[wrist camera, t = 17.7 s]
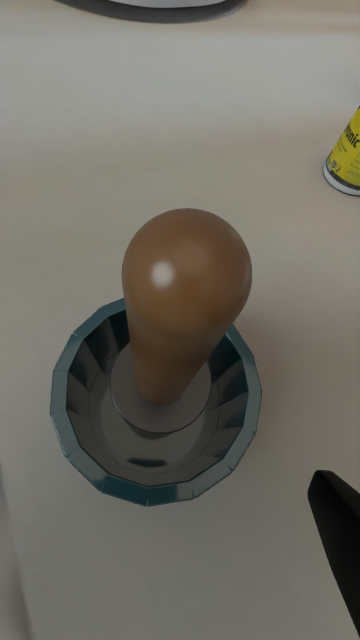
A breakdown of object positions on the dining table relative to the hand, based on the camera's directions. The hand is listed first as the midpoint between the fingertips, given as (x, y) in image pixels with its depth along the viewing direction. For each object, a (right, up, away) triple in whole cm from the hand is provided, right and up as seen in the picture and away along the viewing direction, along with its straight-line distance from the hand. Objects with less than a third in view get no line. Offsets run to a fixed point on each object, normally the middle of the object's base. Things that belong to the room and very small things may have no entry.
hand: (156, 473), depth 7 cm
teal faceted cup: (-1, 0, +8) cm, 8 cm away
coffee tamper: (-1, 0, +8) cm, 8 cm away
